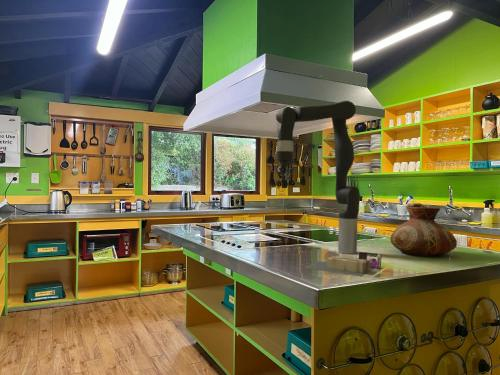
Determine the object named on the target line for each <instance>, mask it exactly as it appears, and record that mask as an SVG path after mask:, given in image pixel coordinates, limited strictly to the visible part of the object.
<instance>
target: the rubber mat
mask: <svg viewBox="0 0 500 375" xmlns="http://www.w3.org/2000/svg"><path fill="white" fill-rule="evenodd" d="M303 269H307V270H308V269H309V270H316V271H323V272H329V273H335V274H342V275H348V276H355V277H363V276H365V275H368V274H369V273H370V272H372V271H373V270H374V267H370V271H369V272H367V273H365V274H363V273H356V272H350V271H343V270H336V269H329V268H327V261H322V260H321V261H316V262H314V263H311V264H309V265H307V266H303Z"/></svg>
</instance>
